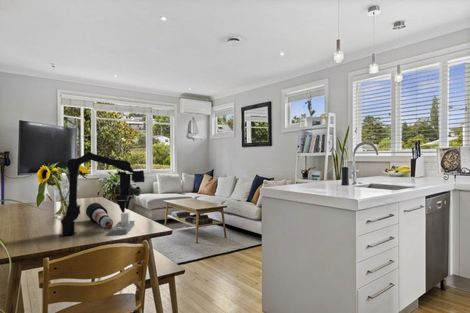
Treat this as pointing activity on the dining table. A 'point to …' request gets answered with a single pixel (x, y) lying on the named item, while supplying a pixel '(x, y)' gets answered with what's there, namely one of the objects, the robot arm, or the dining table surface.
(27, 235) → the dining table surface
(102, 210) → the cable
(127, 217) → the white block
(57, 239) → the dining table surface
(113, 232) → the grey hollow box
